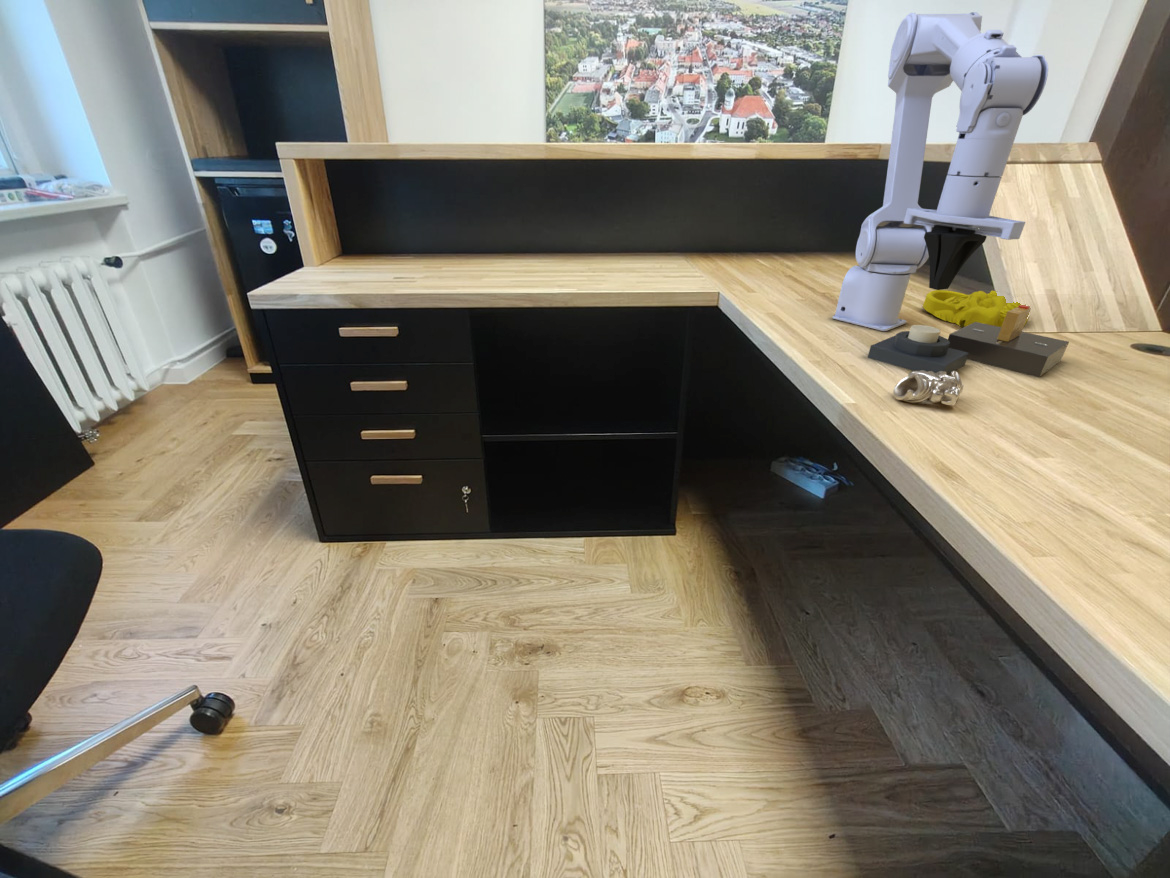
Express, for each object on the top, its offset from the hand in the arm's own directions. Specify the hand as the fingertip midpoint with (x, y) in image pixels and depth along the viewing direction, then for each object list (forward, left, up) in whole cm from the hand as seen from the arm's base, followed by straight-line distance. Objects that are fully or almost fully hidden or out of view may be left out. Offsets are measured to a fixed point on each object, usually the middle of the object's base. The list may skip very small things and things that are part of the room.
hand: (938, 288), depth 74 cm
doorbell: (0, 0, -10) cm, 10 cm away
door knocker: (-4, +33, -11) cm, 35 cm away
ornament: (+7, -13, -11) cm, 18 cm away
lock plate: (+7, +12, -10) cm, 17 cm away
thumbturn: (+7, +12, -7) cm, 16 cm away
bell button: (0, 0, -7) cm, 7 cm away
